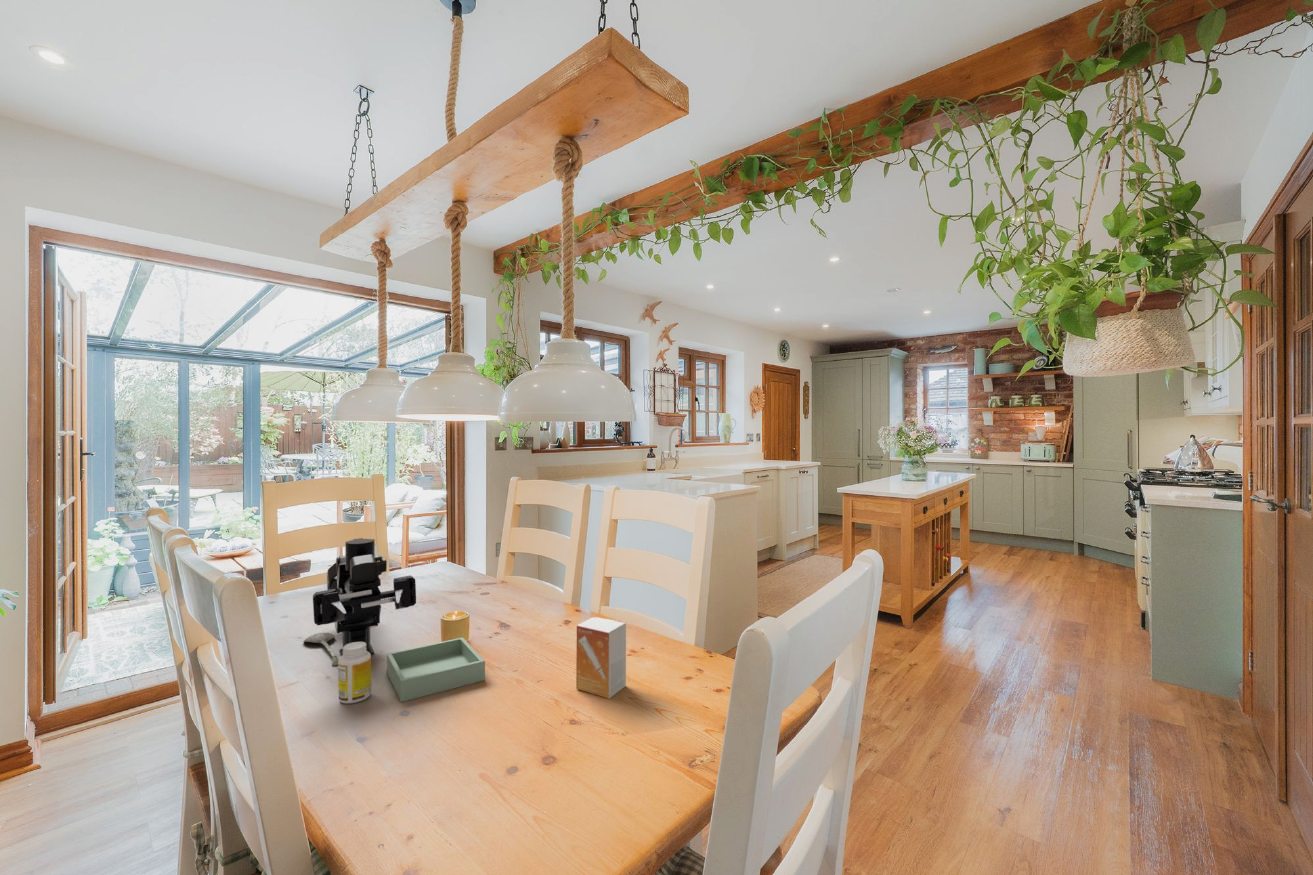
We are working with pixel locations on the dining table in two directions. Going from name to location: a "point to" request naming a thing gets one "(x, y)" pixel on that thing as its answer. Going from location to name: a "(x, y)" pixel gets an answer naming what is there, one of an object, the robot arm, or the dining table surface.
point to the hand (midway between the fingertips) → (372, 611)
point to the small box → (601, 656)
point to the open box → (434, 668)
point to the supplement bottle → (354, 673)
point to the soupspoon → (323, 639)
